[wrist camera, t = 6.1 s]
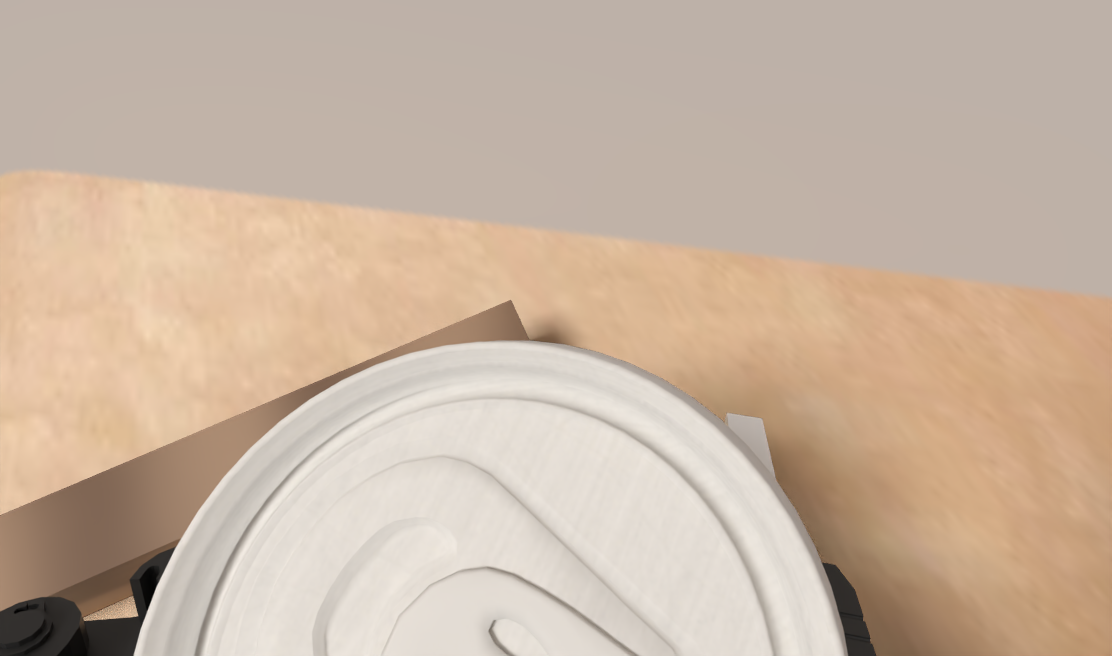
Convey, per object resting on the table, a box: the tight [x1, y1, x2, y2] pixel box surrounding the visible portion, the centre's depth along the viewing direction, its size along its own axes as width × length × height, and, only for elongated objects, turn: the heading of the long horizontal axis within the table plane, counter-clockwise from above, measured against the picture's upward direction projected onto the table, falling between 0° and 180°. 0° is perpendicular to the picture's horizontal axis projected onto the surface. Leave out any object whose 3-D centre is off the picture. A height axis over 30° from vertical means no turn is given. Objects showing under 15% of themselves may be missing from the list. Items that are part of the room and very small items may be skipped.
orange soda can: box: [134, 341, 848, 656], centre depth 12 cm, size 6×6×15 cm
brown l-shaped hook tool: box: [0, 300, 529, 617], centre depth 18 cm, size 24×4×4 cm, turn 114°
